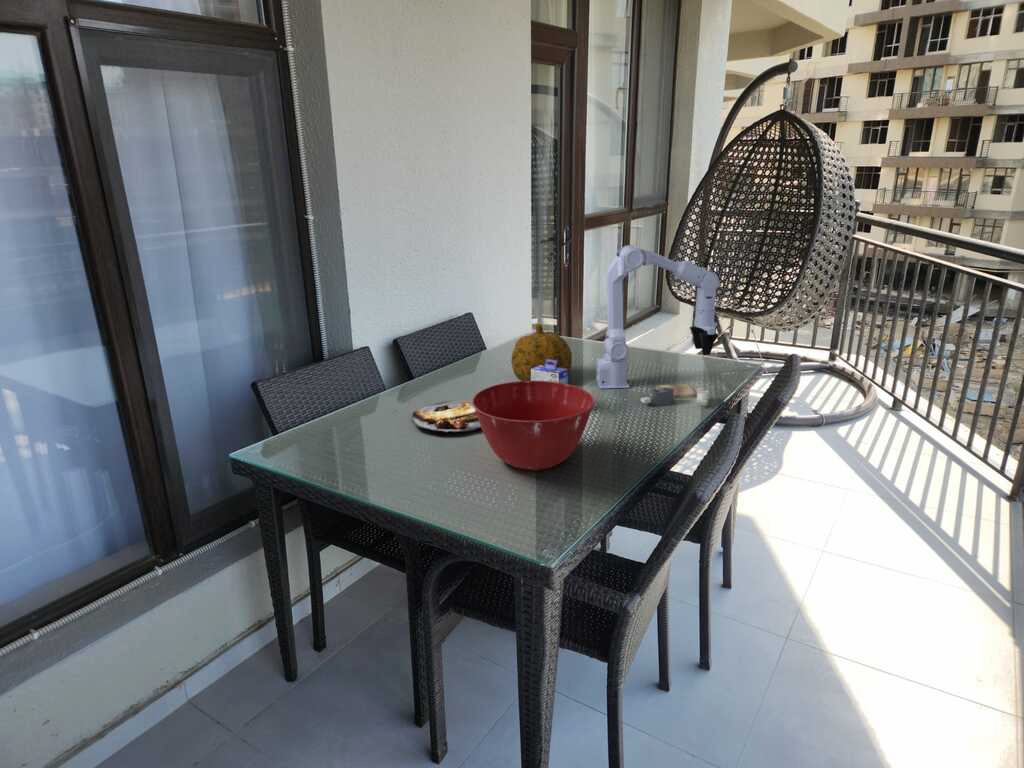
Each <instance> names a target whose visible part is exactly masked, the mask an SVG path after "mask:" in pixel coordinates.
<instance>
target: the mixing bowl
mask: <svg viewBox="0 0 1024 768" xmlns="http://www.w3.org/2000/svg"><path fill="white" fill-rule="evenodd" d="M471 401H472V404H473V406H474V408H475V411H476V414H477V417H478V420H479V421H478V422H479V426H481V428H480V429H481V431H482V433H483V435H484V437H485V439H486V441H487V443H488V444H489V446H490V448H491V450H492V451H493V453H494V454H495V455H496V457H498V458H499V459H500V460H501V461H503V462H504V463H506V464H508V465H510V466H511V467H514V468H516V469H520V470H525V471H542V470H548V469H551V468H554V467H555V466H557V465H558V464H559V465H560V463H562V462H565V461H566V460H567V459H568V458H569V457H570V456H571V455H572V454H573V452H574V450H575V449H576V447H577V446H578V444H579V443H580V440H581V438H582V436H583V435H584V431H585V429H586V427H587V423H588V420H589V417H590V415H591V410H592V408H593V406H594V404H595V398H594V396H593V395H592V394H591V393H590V392H589V391H587V390H585V389H583V388H581V387H579V386H575V385H572V384H569V383H568V384H565V383H559V382H551V381H521V380H519V381H518V380H517V381H511V382H510V381H509V382H504V383H503V382H502V383H499V384H494V385H491V386H489V387H486V388H483V389H482V390H479V392H477V393H476V394H475V395H474V396H473V398H472V400H471Z"/></svg>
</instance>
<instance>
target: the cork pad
mask: <svg viewBox="0 0 1024 768" xmlns="http://www.w3.org/2000/svg"><path fill="white" fill-rule="evenodd" d="M660 388H673V389H674V399H678V398H677V397H690V398H697V392H695V390H694V389H693V388H691V387H690V386H689V384H687V383H685V384H684V383H683V384H681V383H680V384H678V383H677V384H656V385H655V389H660Z"/></svg>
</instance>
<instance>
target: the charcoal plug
mask: <svg viewBox="0 0 1024 768" xmlns="http://www.w3.org/2000/svg"><path fill="white" fill-rule="evenodd" d="M647 394H648V395H647V396H644V397H640V402H642V403H643V404H647V405H648V406H649V405H650V406H649V407H659V405H660V406H664V404H666V405H670V403H671V404H674V399H675V398H674V389H673V388H660V389H656V388H655V389H649V390H648V393H647Z"/></svg>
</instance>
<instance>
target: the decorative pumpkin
mask: <svg viewBox="0 0 1024 768" xmlns="http://www.w3.org/2000/svg"><path fill="white" fill-rule="evenodd" d="M534 328H535V332H532V333H531V334H529V335H525V336H522V337H520V338H518V339H517V341H516V342H515V344H514V348H513V350H512V354H511V360H510V361H511V366H512V371H513V373H514V375H515V376H516V378H517V379H518V380H519V381H531V369H532V368H534V367H537V366H540V365H542V366H545V363H546V360H547V359H551V360H557V364H556V368H563V369H568V373H570V371H571V368H572V364H573V362H572V359H573V355H572V354H573V353H572V350H571V348H570V346H569V345H568V343H567V342H566V341H567V340H564V338H562V337H561V336H560V335H559V334H558V333H556V332H553V331H547V332H544V330H543V325H542V324H541V323H536V324H534ZM547 364H550V365H554V363H553V362H548V363H547Z"/></svg>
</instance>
